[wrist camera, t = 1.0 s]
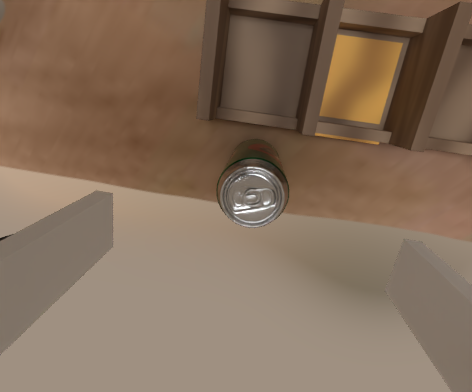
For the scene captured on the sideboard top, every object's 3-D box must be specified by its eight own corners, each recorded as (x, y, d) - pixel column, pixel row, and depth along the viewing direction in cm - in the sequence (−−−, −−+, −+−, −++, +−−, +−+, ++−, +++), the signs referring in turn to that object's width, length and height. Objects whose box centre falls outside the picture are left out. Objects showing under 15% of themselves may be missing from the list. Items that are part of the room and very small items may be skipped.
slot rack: (209, 118, 29) (196, 121, 23) (221, 2, 26) (209, -31, 19) (472, 156, 28) (533, 171, 22) (519, 41, 25) (607, 20, 18)
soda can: (229, 140, 29) (210, 163, 18) (278, 136, 29) (289, 157, 18) (233, 186, 31) (218, 234, 20) (280, 183, 30) (291, 231, 19)
